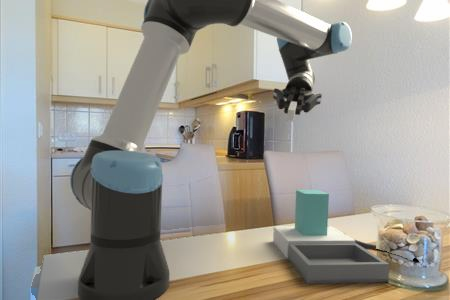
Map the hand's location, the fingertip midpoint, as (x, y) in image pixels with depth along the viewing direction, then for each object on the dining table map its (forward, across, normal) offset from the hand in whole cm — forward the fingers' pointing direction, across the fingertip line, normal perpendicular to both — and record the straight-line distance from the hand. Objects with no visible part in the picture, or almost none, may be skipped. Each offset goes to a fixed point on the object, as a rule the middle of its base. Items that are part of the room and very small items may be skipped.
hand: (290, 115), depth 72 cm
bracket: (0, -26, -33) cm, 42 cm away
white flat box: (+6, -10, -31) cm, 33 cm away
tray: (+16, -14, -26) cm, 34 cm away
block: (+4, -9, -28) cm, 30 cm away
